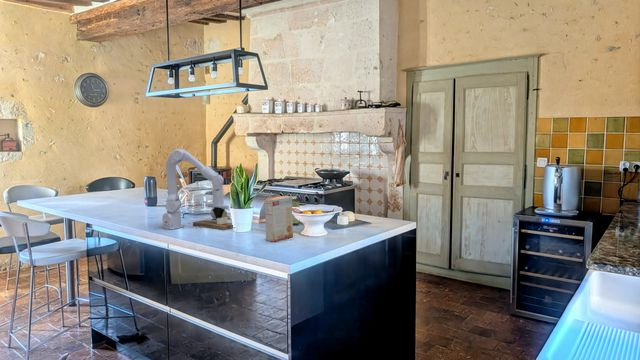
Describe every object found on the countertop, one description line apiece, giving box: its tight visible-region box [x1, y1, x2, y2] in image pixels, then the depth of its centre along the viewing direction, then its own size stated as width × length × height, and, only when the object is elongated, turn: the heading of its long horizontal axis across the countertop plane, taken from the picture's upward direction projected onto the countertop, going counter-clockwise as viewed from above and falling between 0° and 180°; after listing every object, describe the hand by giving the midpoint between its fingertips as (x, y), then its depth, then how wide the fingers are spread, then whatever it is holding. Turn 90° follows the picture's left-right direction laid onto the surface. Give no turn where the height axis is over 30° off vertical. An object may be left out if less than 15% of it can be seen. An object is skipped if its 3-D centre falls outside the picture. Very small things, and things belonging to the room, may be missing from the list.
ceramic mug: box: [210, 208, 231, 220], centre depth 279 cm, size 11×8×8 cm
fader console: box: [192, 218, 234, 231], centre depth 258 cm, size 10×24×2 cm, turn 57°
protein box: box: [272, 196, 300, 227], centre depth 264 cm, size 10×16×16 cm
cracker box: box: [264, 195, 294, 243], centre depth 226 cm, size 14×6×21 cm, turn 141°
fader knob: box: [216, 217, 229, 224], centre depth 255 cm, size 5×3×3 cm, turn 147°
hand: (218, 221), depth 256 cm, fingers closed
